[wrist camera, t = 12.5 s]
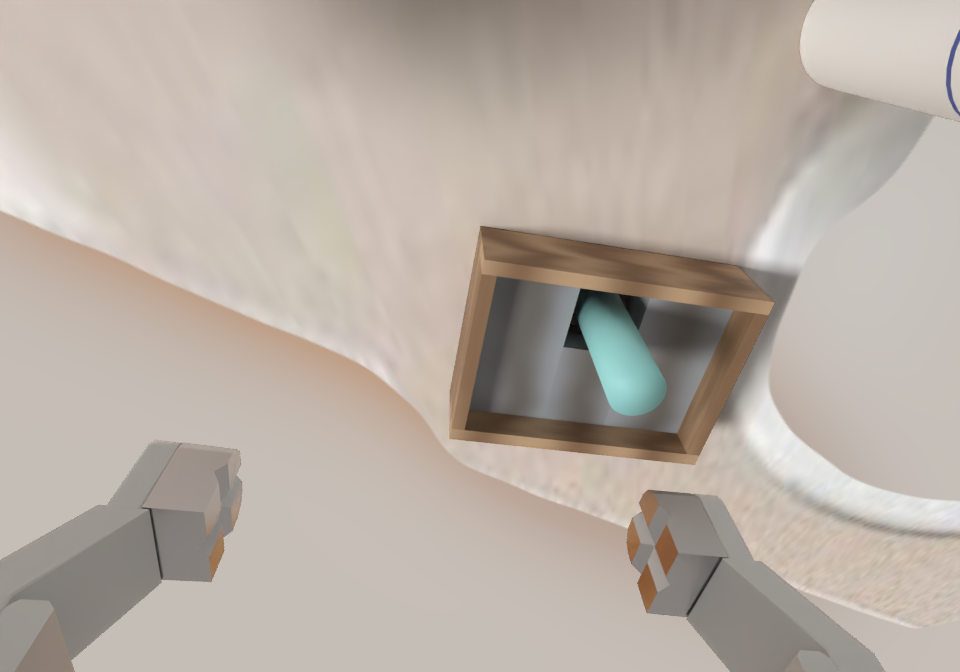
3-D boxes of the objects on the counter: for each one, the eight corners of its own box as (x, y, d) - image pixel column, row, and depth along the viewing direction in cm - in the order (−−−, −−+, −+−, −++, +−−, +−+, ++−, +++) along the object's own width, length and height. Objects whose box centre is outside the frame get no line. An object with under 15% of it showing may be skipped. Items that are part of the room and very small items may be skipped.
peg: (578, 276, 44) (617, 364, 33) (623, 283, 44) (675, 371, 34) (566, 317, 45) (600, 412, 35) (610, 323, 46) (655, 418, 36)
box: (449, 391, 49) (449, 438, 44) (480, 226, 41) (484, 259, 36) (670, 417, 51) (694, 464, 46) (737, 265, 44) (775, 302, 39)
